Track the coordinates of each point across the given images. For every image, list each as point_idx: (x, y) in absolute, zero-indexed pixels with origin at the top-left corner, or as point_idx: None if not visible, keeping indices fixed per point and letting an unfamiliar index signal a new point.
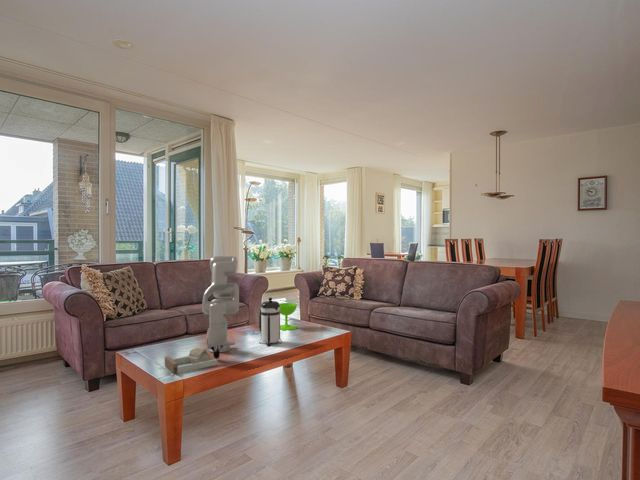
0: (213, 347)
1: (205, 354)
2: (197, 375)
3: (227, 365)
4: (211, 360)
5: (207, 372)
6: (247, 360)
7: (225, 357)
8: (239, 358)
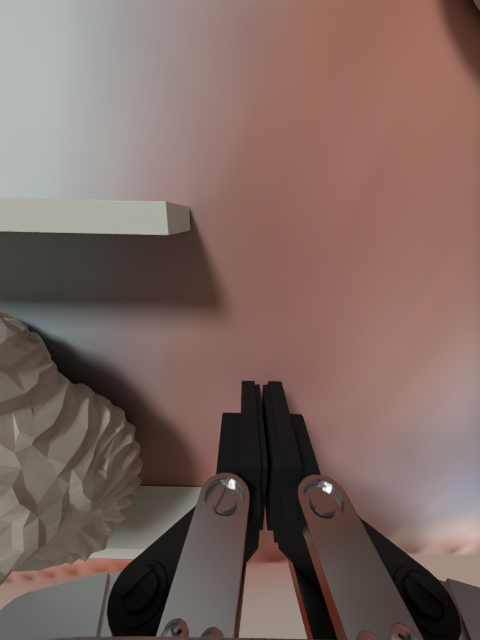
0: (207, 582)
1: (29, 569)
2: (16, 576)
3: (268, 541)
4: (130, 557)
5: (89, 570)
6: (463, 537)
7: (394, 358)
8: (465, 467)
